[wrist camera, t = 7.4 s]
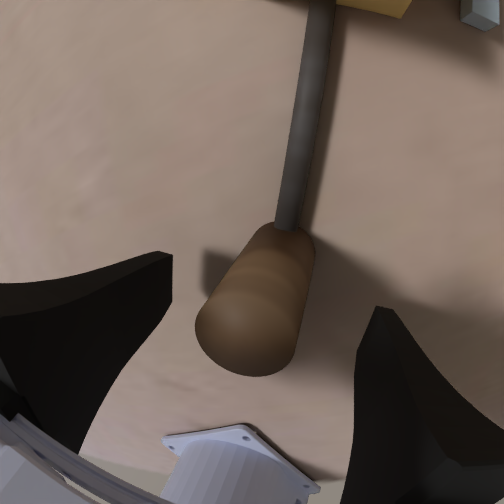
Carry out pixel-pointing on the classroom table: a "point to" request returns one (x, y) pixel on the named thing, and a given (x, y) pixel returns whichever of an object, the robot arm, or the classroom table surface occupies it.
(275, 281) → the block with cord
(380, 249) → the classroom table surface
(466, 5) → the shelf
